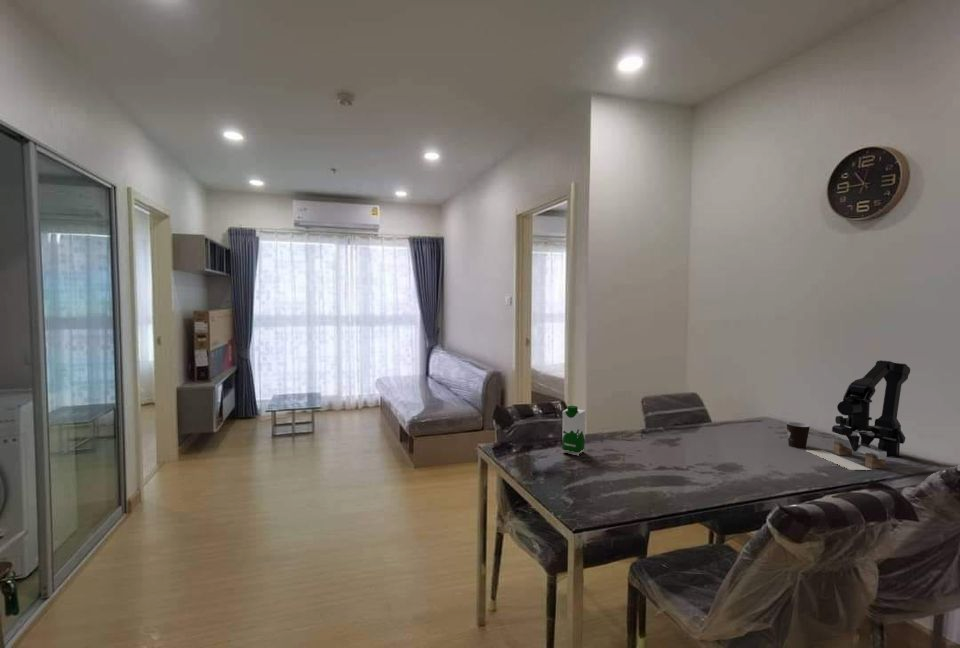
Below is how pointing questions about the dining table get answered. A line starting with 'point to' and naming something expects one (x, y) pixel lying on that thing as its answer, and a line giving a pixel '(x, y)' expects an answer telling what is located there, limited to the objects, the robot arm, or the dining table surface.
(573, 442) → the milk carton
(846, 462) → the mat
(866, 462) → the post
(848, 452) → the post
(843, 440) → the rail
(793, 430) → the coffee mug
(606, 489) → the dining table surface
